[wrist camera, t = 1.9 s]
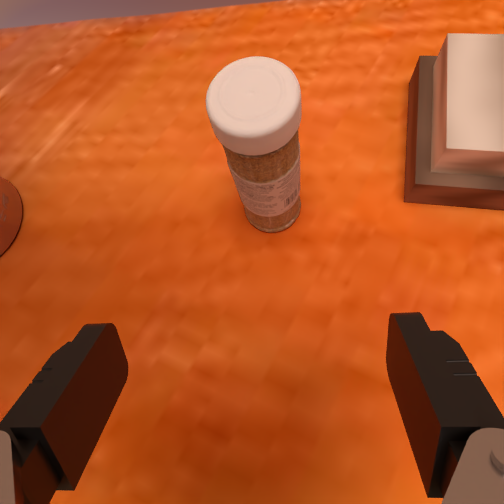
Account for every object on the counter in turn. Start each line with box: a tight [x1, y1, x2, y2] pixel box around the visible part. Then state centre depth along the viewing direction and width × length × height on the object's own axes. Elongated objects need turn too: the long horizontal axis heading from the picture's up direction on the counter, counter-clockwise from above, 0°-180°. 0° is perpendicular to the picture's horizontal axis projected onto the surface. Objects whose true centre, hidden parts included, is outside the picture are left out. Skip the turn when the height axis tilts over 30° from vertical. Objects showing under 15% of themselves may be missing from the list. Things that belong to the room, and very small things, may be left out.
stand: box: [404, 33, 504, 210], centre depth 27 cm, size 11×11×6 cm
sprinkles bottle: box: [206, 56, 301, 233], centre depth 24 cm, size 5×5×13 cm
